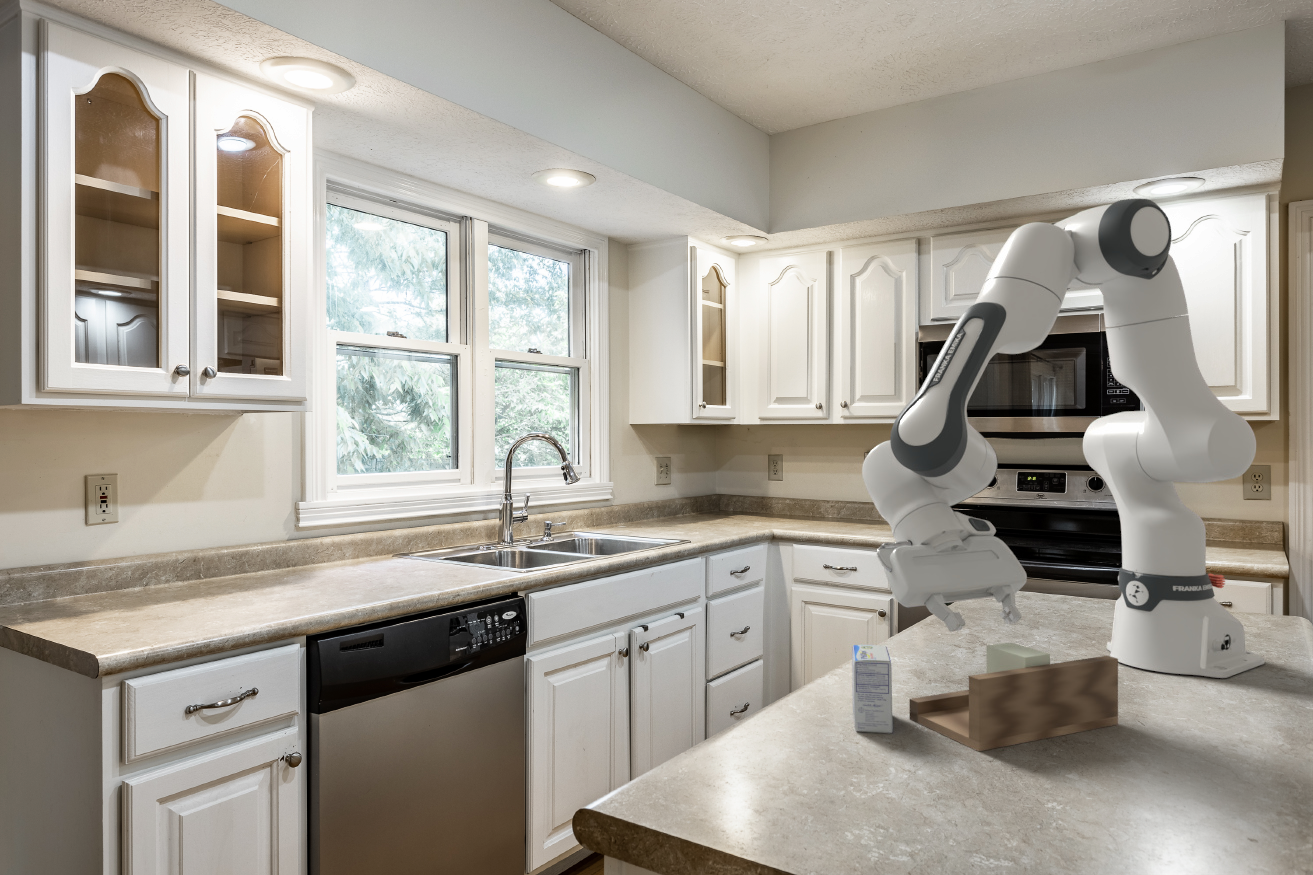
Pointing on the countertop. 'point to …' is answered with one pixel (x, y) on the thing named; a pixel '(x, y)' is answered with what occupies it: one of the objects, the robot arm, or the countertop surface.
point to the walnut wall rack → (1025, 704)
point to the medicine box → (872, 689)
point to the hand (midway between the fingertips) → (987, 624)
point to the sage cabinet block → (1013, 657)
